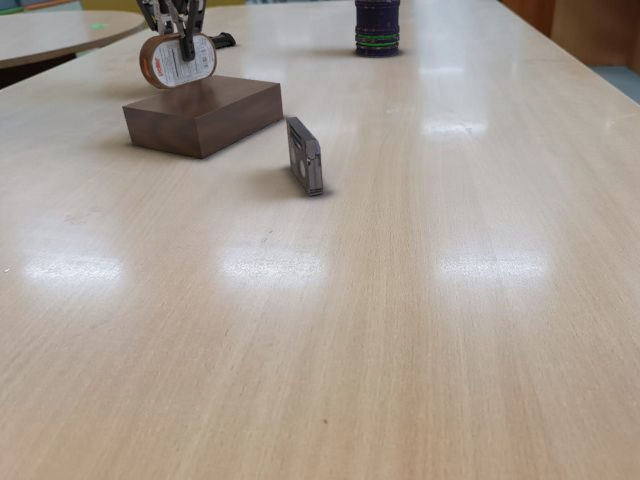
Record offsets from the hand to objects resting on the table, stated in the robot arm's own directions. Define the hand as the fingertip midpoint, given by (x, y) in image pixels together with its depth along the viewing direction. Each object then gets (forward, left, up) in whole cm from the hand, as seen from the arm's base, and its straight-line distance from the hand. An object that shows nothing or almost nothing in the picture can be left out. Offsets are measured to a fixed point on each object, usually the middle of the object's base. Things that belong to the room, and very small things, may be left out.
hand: (181, 59), depth 88 cm
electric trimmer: (-19, +28, -5) cm, 34 cm away
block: (+19, -16, -5) cm, 25 cm away
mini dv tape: (+40, -25, -5) cm, 48 cm away
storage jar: (+18, +41, -5) cm, 45 cm away
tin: (0, 0, -4) cm, 4 cm away
